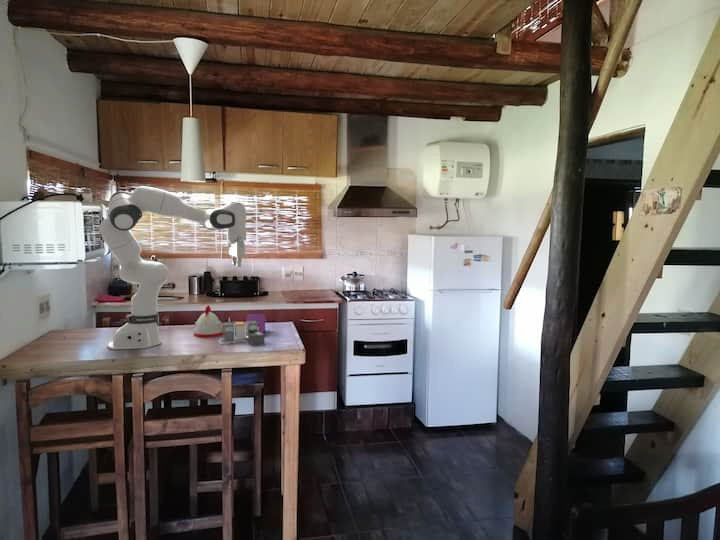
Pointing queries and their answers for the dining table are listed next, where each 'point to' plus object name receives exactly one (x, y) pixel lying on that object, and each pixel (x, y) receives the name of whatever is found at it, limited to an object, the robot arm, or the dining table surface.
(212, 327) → the white and red dome
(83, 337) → the dining table surface
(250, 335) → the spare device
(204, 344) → the dining table surface
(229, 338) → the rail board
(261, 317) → the mounting bracket
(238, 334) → the loose module
